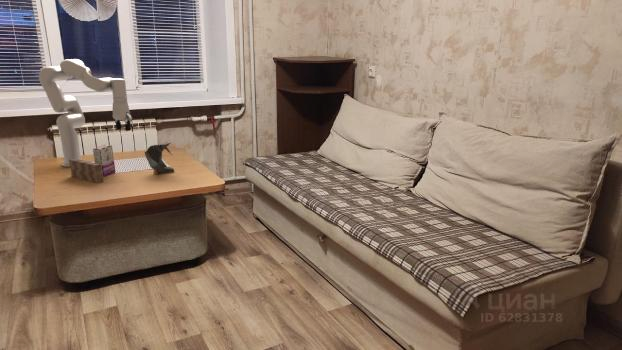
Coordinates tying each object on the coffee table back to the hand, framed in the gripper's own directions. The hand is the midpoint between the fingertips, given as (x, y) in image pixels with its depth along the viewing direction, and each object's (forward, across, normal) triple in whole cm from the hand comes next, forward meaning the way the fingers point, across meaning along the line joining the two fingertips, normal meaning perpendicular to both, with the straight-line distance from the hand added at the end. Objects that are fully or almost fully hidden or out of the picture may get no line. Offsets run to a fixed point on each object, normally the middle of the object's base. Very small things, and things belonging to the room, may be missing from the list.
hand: (123, 129), depth 264 cm
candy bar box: (+24, 0, -15) cm, 28 cm away
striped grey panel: (+24, 0, -27) cm, 36 cm away
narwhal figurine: (+24, +24, +4) cm, 34 cm away
